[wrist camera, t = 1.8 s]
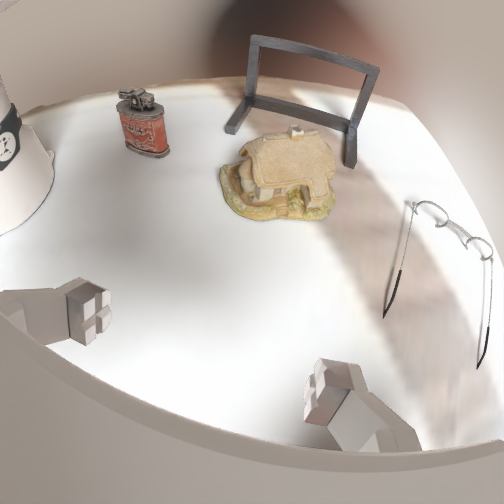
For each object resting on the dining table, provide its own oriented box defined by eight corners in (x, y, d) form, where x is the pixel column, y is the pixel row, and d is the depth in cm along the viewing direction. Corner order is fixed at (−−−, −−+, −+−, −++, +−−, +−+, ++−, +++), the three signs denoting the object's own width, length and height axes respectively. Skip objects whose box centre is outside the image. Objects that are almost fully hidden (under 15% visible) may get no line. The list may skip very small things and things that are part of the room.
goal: (225, 133, 39) (229, 51, 27) (246, 101, 45) (253, 34, 33) (353, 168, 38) (387, 93, 26) (354, 131, 43) (378, 67, 32)
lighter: (174, 148, 37) (167, 89, 28) (159, 162, 35) (149, 101, 26) (136, 135, 38) (125, 82, 29) (121, 147, 36) (107, 93, 28)
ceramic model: (307, 156, 38) (325, 100, 30) (345, 215, 34) (377, 158, 25) (213, 171, 35) (213, 107, 26) (239, 241, 30) (246, 175, 22)
